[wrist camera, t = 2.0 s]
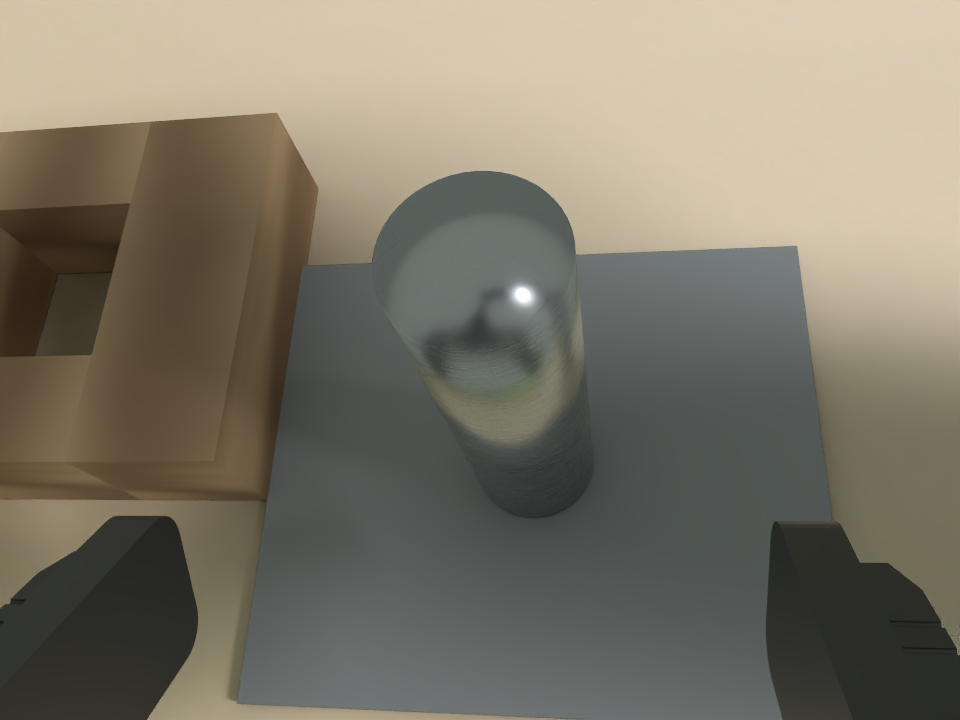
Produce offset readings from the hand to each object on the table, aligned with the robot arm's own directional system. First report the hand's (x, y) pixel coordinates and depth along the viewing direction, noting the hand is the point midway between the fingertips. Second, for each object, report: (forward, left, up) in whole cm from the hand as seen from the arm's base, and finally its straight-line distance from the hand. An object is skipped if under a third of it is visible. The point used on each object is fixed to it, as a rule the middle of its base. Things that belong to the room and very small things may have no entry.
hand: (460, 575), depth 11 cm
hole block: (+13, -8, -9) cm, 18 cm away
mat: (0, -4, -9) cm, 10 cm away
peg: (0, -4, -9) cm, 10 cm away
